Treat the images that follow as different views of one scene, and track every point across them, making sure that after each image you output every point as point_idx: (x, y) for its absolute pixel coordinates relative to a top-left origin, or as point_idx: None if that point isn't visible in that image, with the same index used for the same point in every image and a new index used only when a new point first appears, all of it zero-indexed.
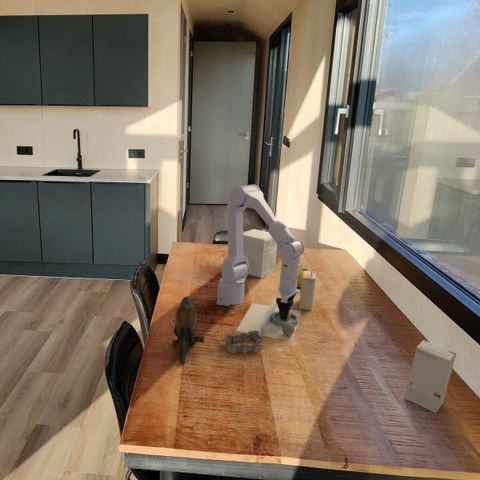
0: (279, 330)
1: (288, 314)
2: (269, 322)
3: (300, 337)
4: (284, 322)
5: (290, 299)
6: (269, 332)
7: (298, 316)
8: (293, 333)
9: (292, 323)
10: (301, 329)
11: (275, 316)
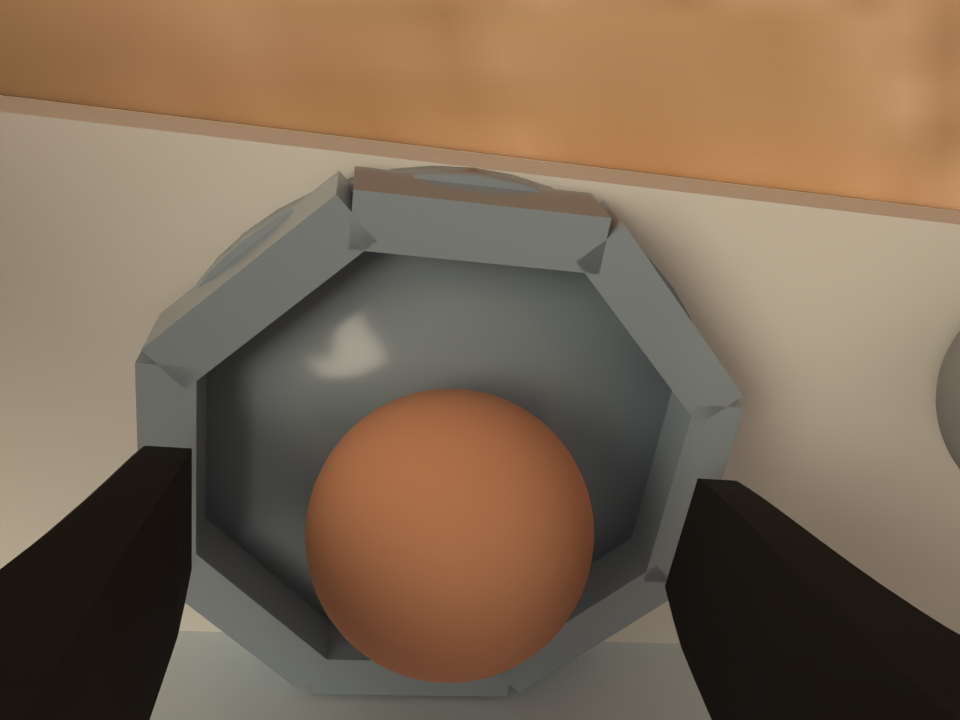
0: (834, 480)
1: (571, 488)
2: (590, 649)
3: (952, 86)
4: (712, 472)
5: (84, 705)
6: (908, 601)
7: (86, 154)
8: (948, 246)
9: (681, 309)
10: (610, 61)
11: None
